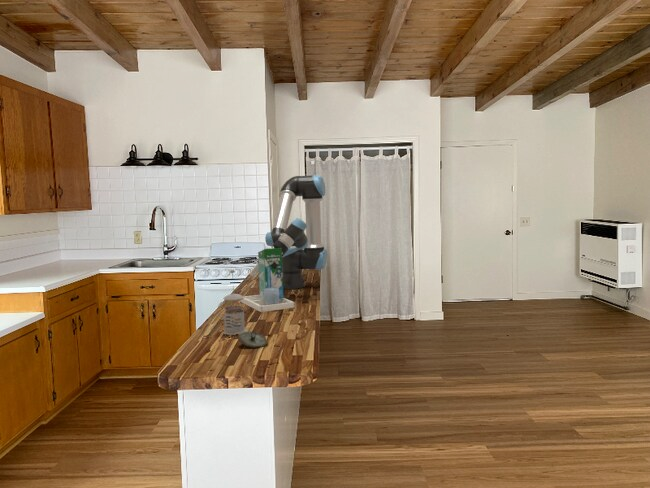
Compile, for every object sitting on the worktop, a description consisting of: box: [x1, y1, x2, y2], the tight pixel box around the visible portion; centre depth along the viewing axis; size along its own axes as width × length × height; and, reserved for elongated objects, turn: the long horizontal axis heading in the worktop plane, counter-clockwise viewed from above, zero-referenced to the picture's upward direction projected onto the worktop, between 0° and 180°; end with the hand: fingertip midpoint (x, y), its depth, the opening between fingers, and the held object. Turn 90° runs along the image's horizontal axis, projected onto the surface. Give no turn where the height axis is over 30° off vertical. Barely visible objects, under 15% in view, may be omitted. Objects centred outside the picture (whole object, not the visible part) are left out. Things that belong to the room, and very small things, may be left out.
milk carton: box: [257, 247, 284, 299], centre depth 258 cm, size 9×9×25 cm
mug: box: [264, 287, 279, 306], centre depth 248 cm, size 9×7×9 cm
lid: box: [237, 331, 268, 349], centre depth 190 cm, size 11×10×5 cm
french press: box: [217, 269, 248, 336], centre depth 209 cm, size 10×12×25 cm
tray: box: [240, 294, 295, 313], centre depth 256 cm, size 28×17×4 cm, turn 28°
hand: (256, 276), depth 260 cm, fingers open, 13 cm apart
